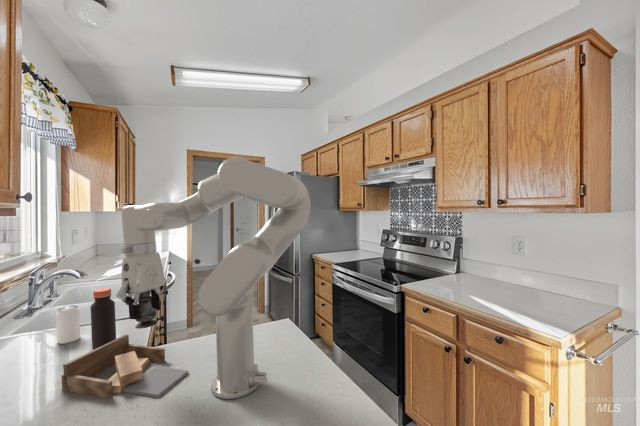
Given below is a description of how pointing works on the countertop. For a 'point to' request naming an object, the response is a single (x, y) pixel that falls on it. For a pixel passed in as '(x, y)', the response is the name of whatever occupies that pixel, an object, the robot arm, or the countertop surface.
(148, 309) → the grey stone finial
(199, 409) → the countertop surface
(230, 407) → the countertop surface
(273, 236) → the robot arm
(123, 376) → the upper offcut
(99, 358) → the rack
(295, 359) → the countertop surface
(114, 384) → the lower offcut
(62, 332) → the can
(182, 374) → the mat
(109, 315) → the bottle
